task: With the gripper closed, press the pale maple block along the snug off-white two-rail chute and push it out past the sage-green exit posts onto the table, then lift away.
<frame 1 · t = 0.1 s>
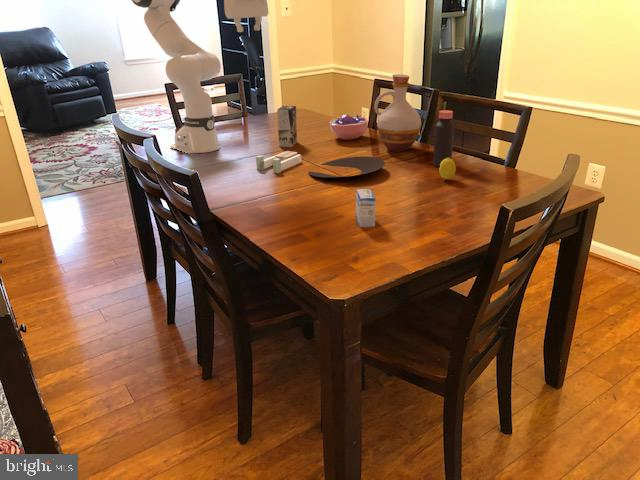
hand: (248, 31, 193), 48 cm above the table, fingers open, 8 cm apart
medicine box: (365, 222, 151), on the table
maple block: (286, 164, 206), on the table
chute: (280, 165, 203), on the table
lemon: (446, 180, 183), on the table
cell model: (349, 138, 240), on the table
coffee box: (288, 144, 233), on the table
bottle: (441, 165, 199), on the table
jug: (396, 149, 221), on the table
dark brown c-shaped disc: (346, 173, 194), on the table
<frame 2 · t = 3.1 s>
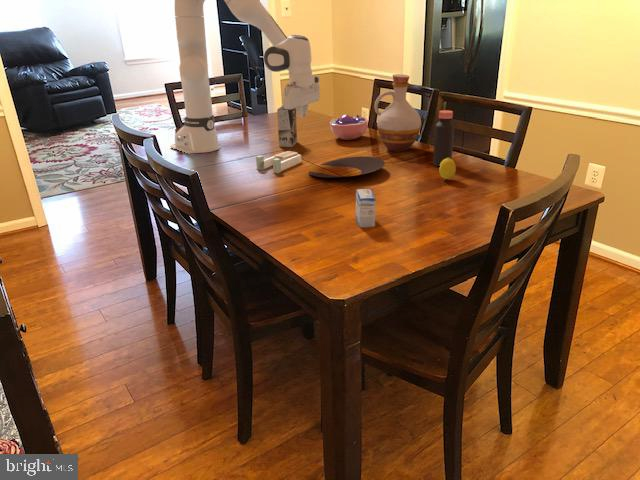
hand: (302, 116, 208), 16 cm above the table, fingers closed
nothing on the table moved.
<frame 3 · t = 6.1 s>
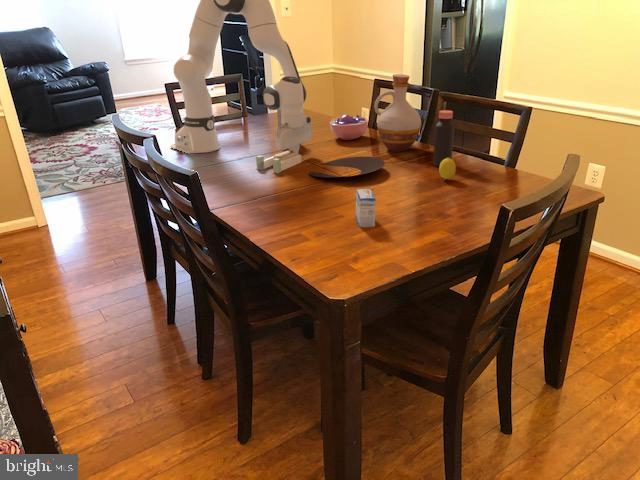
hand: (294, 155, 209), 2 cm above the table, fingers closed
maple block: (286, 163, 206), on the table, touching gripper
everything else where it was.
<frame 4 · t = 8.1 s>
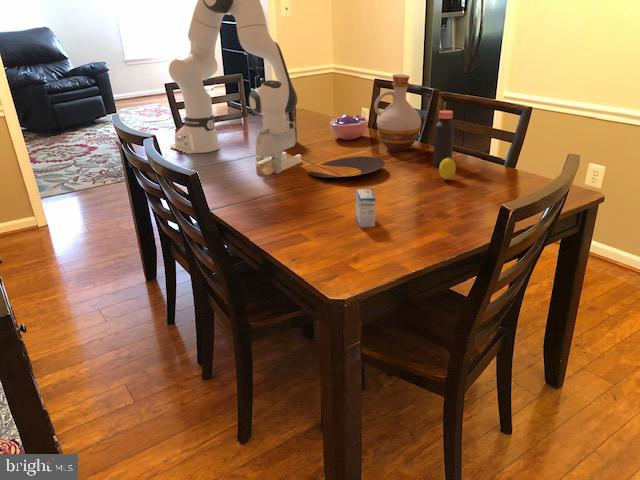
hand: (277, 163, 201), 2 cm above the table, fingers closed
maple block: (268, 171, 197), on the table, touching gripper
everything else where it was.
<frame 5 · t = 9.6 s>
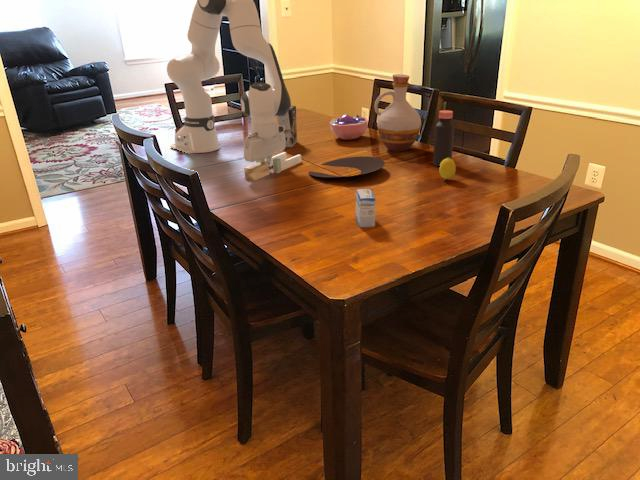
hand: (266, 167, 196), 2 cm above the table, fingers closed
maple block: (257, 176, 192), on the table, touching gripper
everything else where it was.
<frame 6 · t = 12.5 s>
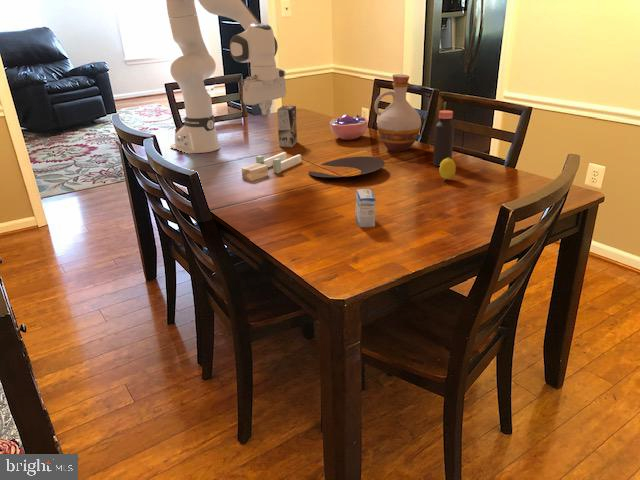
hand: (266, 113, 189), 21 cm above the table, fingers closed
maple block: (255, 177, 191), on the table
everything else where it was.
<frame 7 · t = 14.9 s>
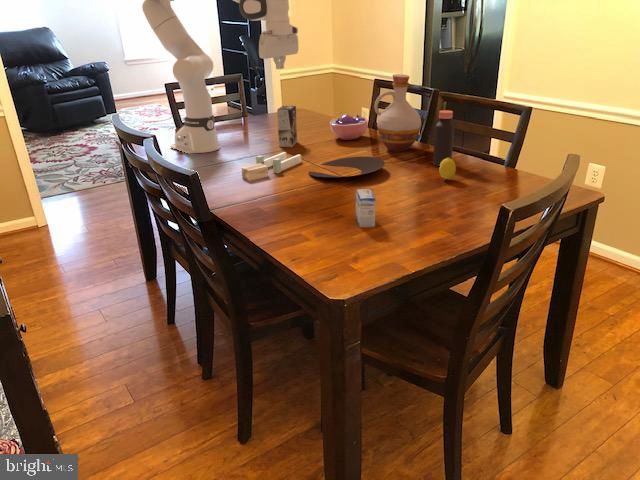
hand: (280, 68, 201), 34 cm above the table, fingers closed
nothing on the table moved.
at the end: maple block inside the target area (0.3 cm from its centre), on the table; maple block tilted 0°; maple block touching table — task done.
